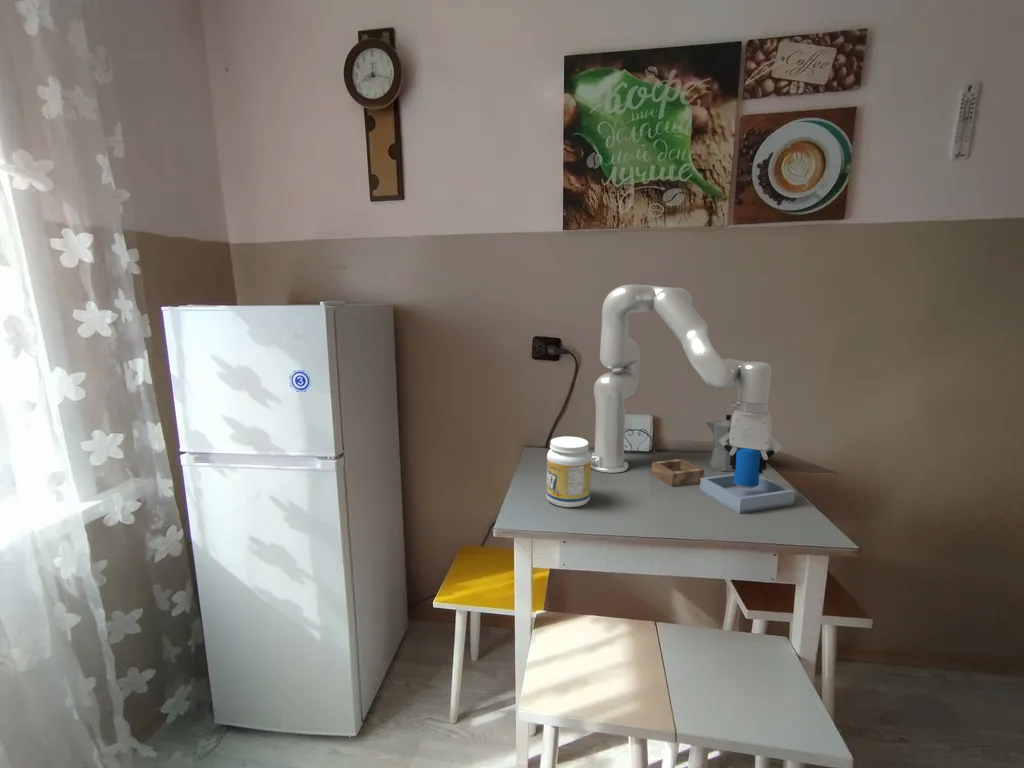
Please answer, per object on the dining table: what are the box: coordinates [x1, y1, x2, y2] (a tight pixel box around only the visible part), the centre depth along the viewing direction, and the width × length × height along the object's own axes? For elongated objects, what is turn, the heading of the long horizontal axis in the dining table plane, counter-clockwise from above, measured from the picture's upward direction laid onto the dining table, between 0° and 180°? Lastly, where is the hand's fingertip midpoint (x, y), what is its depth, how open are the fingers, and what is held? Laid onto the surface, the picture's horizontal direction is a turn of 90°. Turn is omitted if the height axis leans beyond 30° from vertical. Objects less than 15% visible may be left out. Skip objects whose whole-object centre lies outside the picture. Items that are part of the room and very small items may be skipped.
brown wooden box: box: [651, 458, 705, 487], centre depth 157 cm, size 11×11×4 cm
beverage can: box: [733, 448, 762, 488], centre depth 140 cm, size 6×6×12 cm
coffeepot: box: [705, 414, 734, 473], centre depth 165 cm, size 15×9×18 cm, turn 67°
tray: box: [699, 473, 796, 514], centre depth 142 cm, size 18×16×4 cm
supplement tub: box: [545, 436, 592, 508], centre depth 139 cm, size 12×12×17 cm
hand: (747, 469), depth 141 cm, fingers closed on beverage can, 6 cm apart
